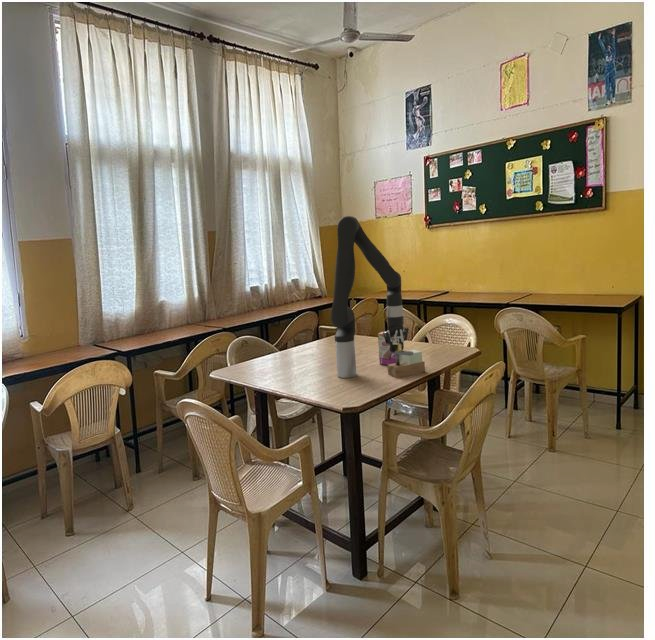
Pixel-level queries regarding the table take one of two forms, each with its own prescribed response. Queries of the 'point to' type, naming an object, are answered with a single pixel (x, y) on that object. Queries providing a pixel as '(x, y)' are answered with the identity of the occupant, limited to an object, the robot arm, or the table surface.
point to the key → (400, 352)
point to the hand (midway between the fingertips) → (396, 351)
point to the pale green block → (413, 357)
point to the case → (405, 369)
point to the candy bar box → (386, 351)
